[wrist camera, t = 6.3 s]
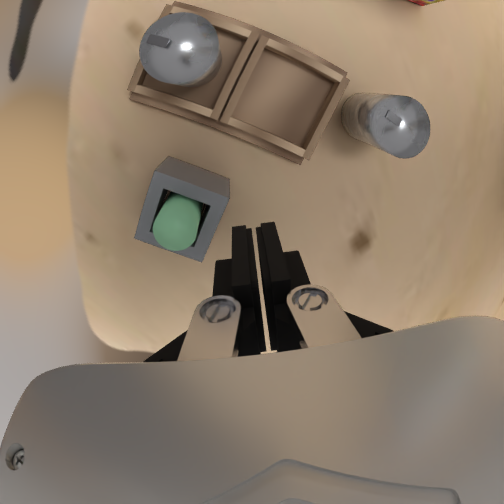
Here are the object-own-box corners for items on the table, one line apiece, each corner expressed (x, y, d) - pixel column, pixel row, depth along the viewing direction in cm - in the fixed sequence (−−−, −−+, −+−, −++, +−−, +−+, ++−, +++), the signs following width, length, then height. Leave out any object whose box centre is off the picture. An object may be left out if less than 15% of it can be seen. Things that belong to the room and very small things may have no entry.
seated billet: (231, 46, 19) (232, 24, 12) (208, 94, 20) (198, 93, 14) (179, 29, 17) (158, 4, 11) (156, 77, 19) (126, 71, 13)
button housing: (229, 179, 25) (229, 198, 21) (206, 233, 27) (202, 262, 23) (168, 156, 24) (154, 170, 19) (149, 213, 26) (134, 238, 22)
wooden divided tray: (343, 73, 21) (354, 71, 19) (297, 162, 25) (304, 169, 23) (176, 4, 17) (171, -4, 15) (133, 98, 21) (123, 99, 19)
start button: (209, 190, 24) (203, 219, 19) (196, 221, 26) (188, 256, 20) (175, 178, 24) (160, 203, 18) (164, 209, 25) (148, 242, 20)
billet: (392, 109, 22) (440, 119, 16) (372, 149, 24) (414, 170, 18) (354, 83, 21) (396, 83, 15) (332, 125, 23) (368, 138, 17)
